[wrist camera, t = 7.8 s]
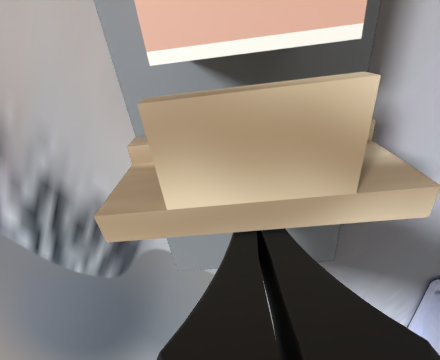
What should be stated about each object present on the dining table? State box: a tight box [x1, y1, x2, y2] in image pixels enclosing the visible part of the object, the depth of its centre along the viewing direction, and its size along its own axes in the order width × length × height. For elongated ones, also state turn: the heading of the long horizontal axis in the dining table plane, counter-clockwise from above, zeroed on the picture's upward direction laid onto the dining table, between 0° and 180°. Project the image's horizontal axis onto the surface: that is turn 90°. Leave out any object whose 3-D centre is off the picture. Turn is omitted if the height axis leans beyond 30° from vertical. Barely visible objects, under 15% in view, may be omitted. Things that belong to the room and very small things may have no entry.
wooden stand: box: [94, 72, 440, 242], centre depth 10 cm, size 6×11×5 cm, turn 97°
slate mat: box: [94, 0, 381, 271], centre depth 11 cm, size 25×11×1 cm, turn 7°
